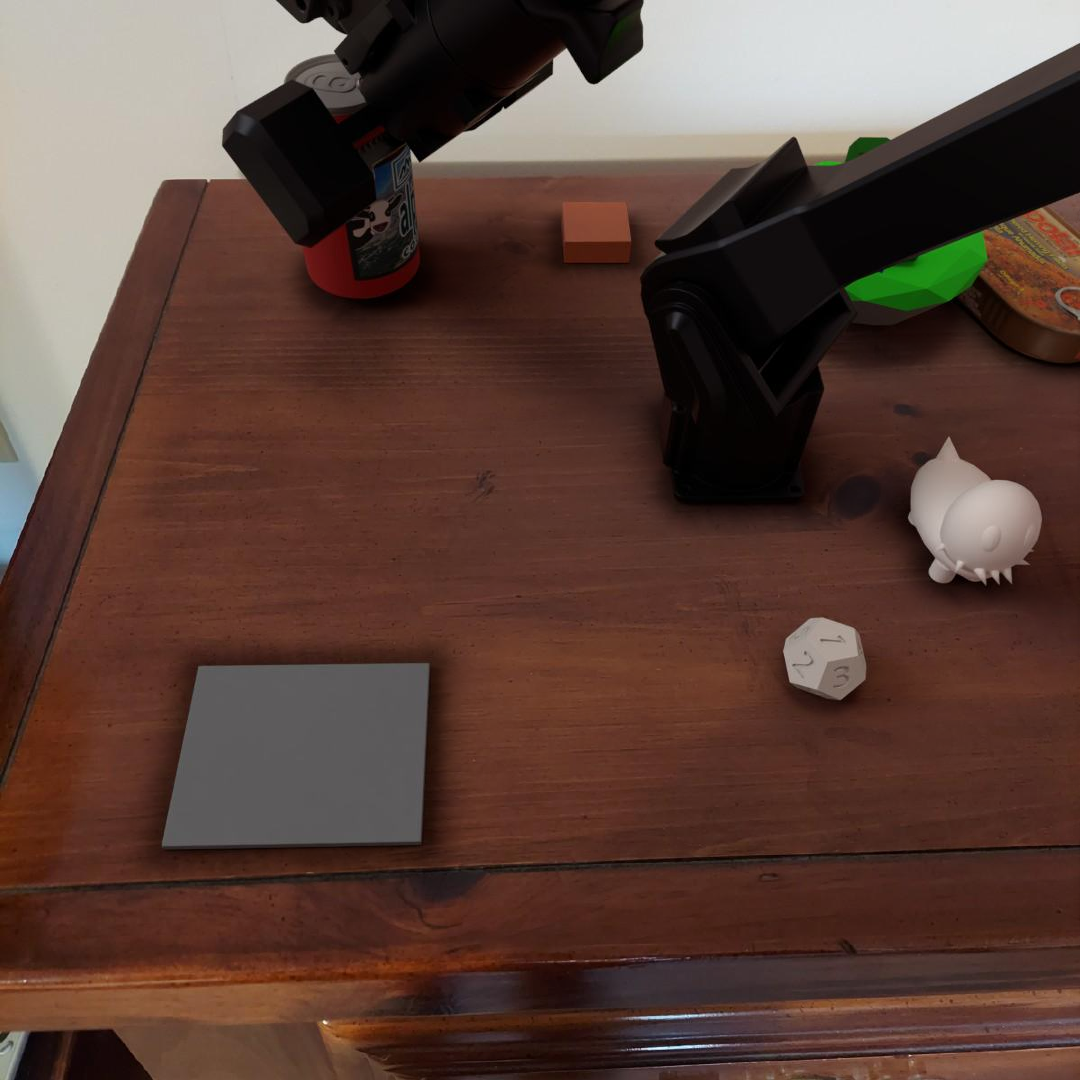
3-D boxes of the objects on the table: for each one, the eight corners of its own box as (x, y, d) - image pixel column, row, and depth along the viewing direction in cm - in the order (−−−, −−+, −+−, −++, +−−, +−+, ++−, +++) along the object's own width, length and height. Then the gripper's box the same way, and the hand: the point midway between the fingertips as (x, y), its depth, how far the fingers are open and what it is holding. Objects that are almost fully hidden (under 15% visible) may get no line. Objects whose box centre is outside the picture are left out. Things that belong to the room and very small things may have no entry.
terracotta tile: (624, 223, 64) (626, 201, 63) (629, 263, 62) (631, 241, 60) (561, 223, 64) (562, 201, 63) (563, 263, 62) (564, 241, 60)
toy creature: (927, 621, 46) (977, 539, 41) (878, 487, 51) (918, 399, 46) (1024, 616, 46) (1085, 533, 41) (966, 483, 51) (1016, 395, 46)
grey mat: (430, 667, 44) (429, 662, 44) (422, 845, 39) (421, 841, 39) (200, 670, 44) (198, 665, 44) (163, 850, 39) (160, 846, 39)
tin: (892, 191, 62) (1006, 157, 64) (880, 233, 64) (990, 199, 66) (1054, 348, 54) (1180, 304, 55) (1032, 390, 56) (1153, 346, 58)
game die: (772, 638, 45) (786, 601, 43) (854, 645, 45) (873, 608, 43) (776, 708, 43) (792, 673, 41) (863, 715, 43) (884, 680, 41)
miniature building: (979, 367, 56) (1064, 194, 47) (770, 367, 56) (817, 193, 47) (925, 235, 63) (990, 64, 55) (740, 235, 63) (776, 63, 54)
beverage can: (403, 317, 58) (381, 123, 49) (292, 300, 59) (248, 105, 49) (434, 246, 62) (419, 54, 53) (329, 231, 63) (296, 39, 53)
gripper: (507, -223, 45) (354, -32, 58) (196, -86, 36) (94, 106, 49) (638, 8, 49) (468, 140, 61) (386, 186, 40) (246, 300, 52)
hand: (332, 165), depth 56 cm, fingers closed on beverage can, 7 cm apart
